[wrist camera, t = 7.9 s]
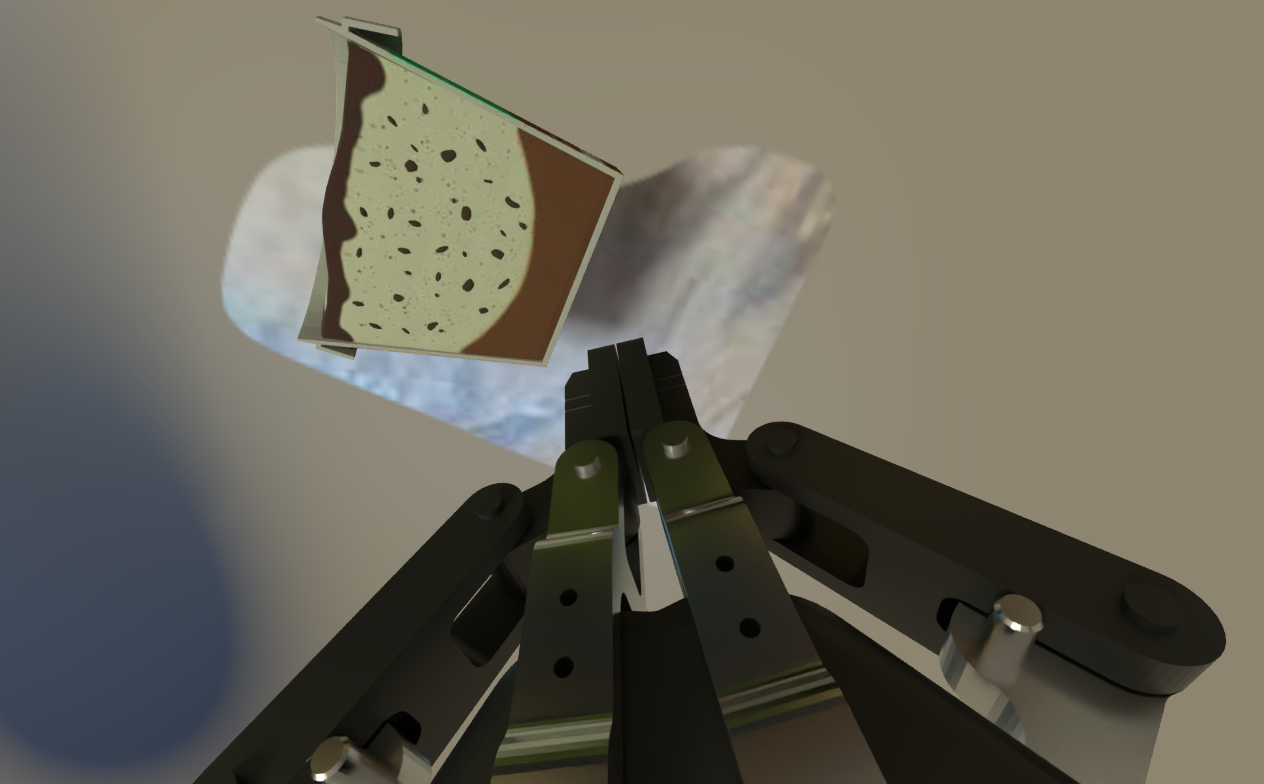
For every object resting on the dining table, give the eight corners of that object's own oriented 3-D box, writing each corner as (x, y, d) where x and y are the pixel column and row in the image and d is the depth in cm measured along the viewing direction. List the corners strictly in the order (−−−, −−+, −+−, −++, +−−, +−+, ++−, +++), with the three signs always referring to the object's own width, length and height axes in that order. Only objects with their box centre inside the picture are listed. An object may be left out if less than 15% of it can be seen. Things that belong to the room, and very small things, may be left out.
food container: (605, 93, 22) (351, -24, 18) (640, 134, 18) (314, -6, 14) (526, 319, 29) (325, 274, 25) (537, 390, 25) (296, 350, 20)
